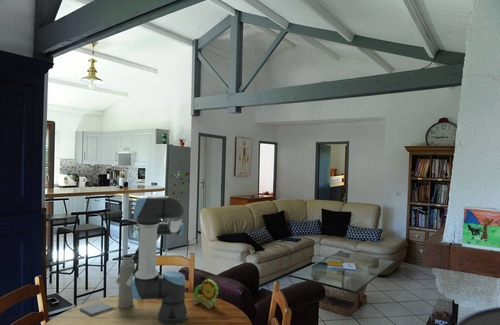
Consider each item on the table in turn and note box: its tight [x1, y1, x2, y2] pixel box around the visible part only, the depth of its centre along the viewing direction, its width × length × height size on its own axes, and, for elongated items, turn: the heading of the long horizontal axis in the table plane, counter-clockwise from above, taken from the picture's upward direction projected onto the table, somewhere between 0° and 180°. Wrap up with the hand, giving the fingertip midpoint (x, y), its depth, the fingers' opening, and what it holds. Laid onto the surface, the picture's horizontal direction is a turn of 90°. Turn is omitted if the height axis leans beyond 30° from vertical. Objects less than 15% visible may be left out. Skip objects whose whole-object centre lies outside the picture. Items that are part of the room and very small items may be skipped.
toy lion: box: [191, 278, 219, 310], centre depth 196 cm, size 16×5×15 cm, turn 61°
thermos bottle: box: [117, 253, 136, 308], centre depth 193 cm, size 8×8×28 cm
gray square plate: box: [79, 301, 114, 317], centre depth 185 cm, size 12×12×1 cm
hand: (122, 283), depth 190 cm, fingers closed on thermos bottle, 8 cm apart
